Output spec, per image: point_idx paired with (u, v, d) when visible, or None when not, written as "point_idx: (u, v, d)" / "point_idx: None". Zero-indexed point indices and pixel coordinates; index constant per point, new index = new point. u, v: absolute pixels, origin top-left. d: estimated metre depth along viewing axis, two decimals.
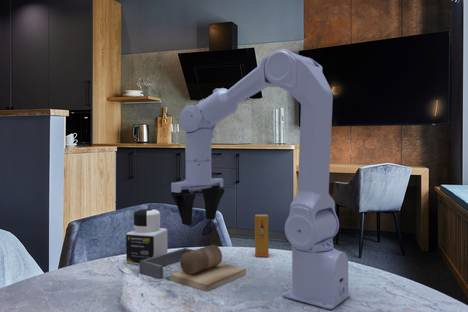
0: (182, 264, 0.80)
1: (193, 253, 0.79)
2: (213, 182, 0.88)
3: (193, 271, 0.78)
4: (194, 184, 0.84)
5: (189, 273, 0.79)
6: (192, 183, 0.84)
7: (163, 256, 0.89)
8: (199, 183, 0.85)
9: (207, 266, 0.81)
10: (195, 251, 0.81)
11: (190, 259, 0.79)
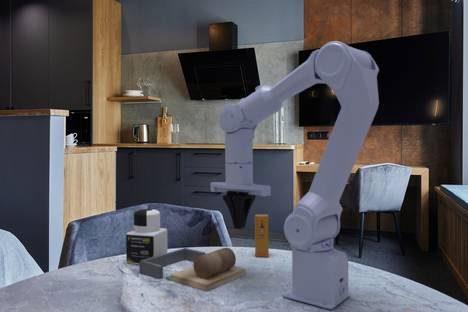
0: (200, 258, 0.77)
1: (211, 274, 0.76)
2: (241, 187, 0.79)
3: (196, 272, 0.78)
4: (220, 186, 0.83)
5: (194, 266, 0.78)
6: (219, 185, 0.83)
7: (163, 256, 0.89)
8: (223, 186, 0.82)
9: None
10: (215, 270, 0.77)
11: (204, 272, 0.77)
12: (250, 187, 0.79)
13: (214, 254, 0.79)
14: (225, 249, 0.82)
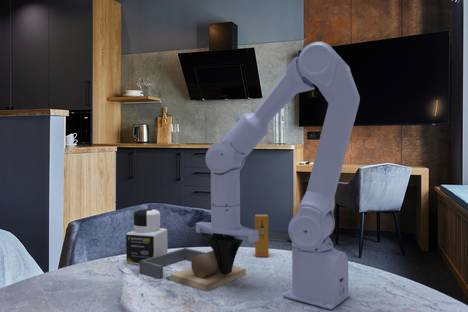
0: (197, 258, 0.78)
1: (209, 271, 0.77)
2: (227, 232, 0.75)
3: (195, 274, 0.78)
4: (206, 228, 0.79)
5: (192, 268, 0.79)
6: (205, 227, 0.79)
7: (163, 256, 0.89)
8: (208, 228, 0.78)
9: None
10: (213, 266, 0.78)
11: (203, 270, 0.77)
12: (237, 232, 0.74)
13: (210, 253, 0.79)
14: None
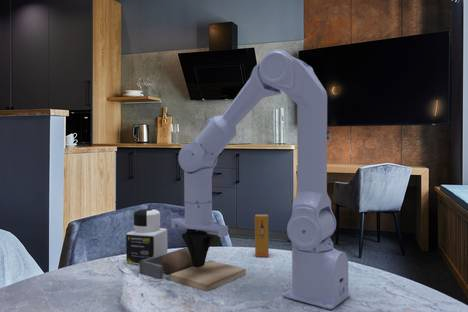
0: (169, 257, 0.83)
1: None
2: (198, 227, 0.79)
3: None
4: (180, 224, 0.83)
5: (161, 261, 0.84)
6: (179, 222, 0.84)
7: None
8: (182, 224, 0.82)
9: None
10: (180, 270, 0.84)
11: (170, 270, 0.83)
12: (207, 227, 0.79)
13: (183, 256, 0.85)
14: None
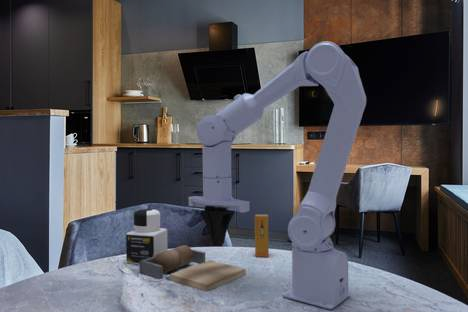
0: (157, 257, 0.85)
1: (171, 264, 0.84)
2: (218, 203, 0.76)
3: None
4: (198, 201, 0.80)
5: None
6: (197, 199, 0.80)
7: None
8: (200, 201, 0.79)
9: None
10: (174, 260, 0.85)
11: (165, 265, 0.84)
12: (228, 203, 0.75)
13: (169, 250, 0.87)
14: None
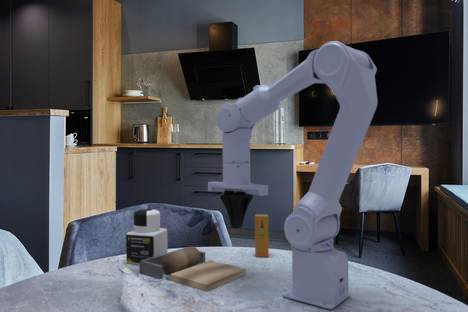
0: (170, 258, 0.83)
1: None
2: (238, 187, 0.79)
3: None
4: (218, 185, 0.83)
5: (162, 260, 0.84)
6: (217, 184, 0.83)
7: None
8: (220, 185, 0.82)
9: None
10: (180, 270, 0.84)
11: (170, 270, 0.83)
12: (247, 187, 0.79)
13: (183, 256, 0.84)
14: (193, 250, 0.88)
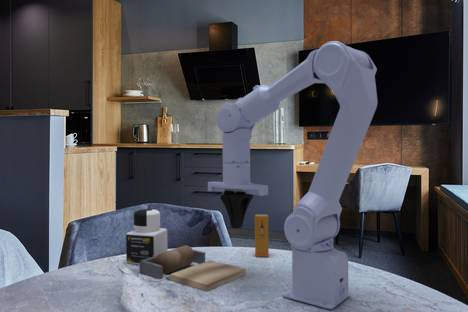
0: (159, 256, 0.84)
1: (172, 266, 0.83)
2: (238, 187, 0.79)
3: None
4: (218, 185, 0.83)
5: None
6: (217, 184, 0.83)
7: None
8: (220, 185, 0.82)
9: None
10: (176, 262, 0.84)
11: (166, 266, 0.83)
12: (247, 187, 0.79)
13: (172, 250, 0.86)
14: (182, 246, 0.90)
